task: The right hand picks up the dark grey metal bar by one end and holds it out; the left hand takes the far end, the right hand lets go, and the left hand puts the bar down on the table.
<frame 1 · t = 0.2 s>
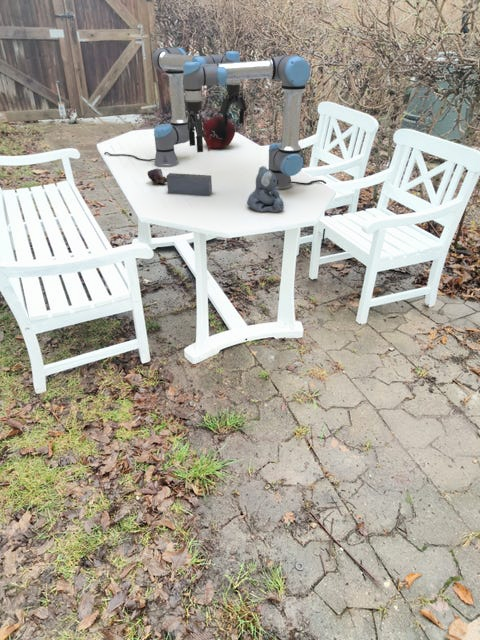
left hand: (233, 125, 259), 28 cm above the table, tool pointing down, fingers open, 13 cm apart
right hand: (196, 148, 219), 27 cm above the table, tool pointing down, fingers open, 13 cm apart
rock: (157, 183, 261), on the table
bar: (190, 193, 247), on the table
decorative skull: (218, 146, 330), on the table
koala plush: (264, 207, 227), on the table
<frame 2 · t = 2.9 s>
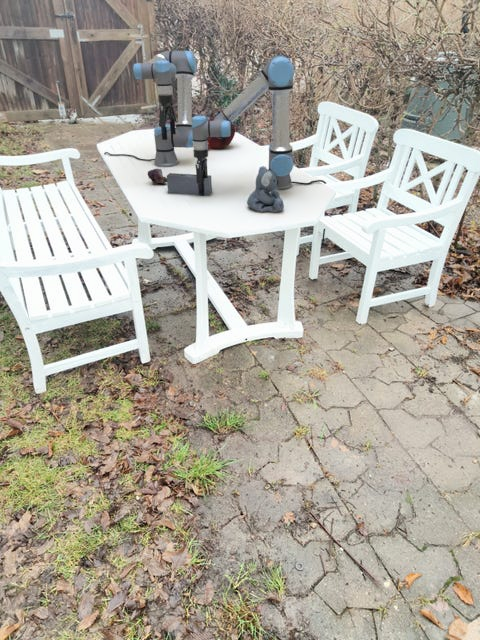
left hand: (169, 136, 249), 25 cm above the table, tool pointing down, fingers open, 13 cm apart
right hand: (203, 193, 245), 0 cm above the table, tool pointing down, fingers closed on bar, 5 cm apart
bar: (190, 193, 247), on the table, touching right hand
everything else where it was.
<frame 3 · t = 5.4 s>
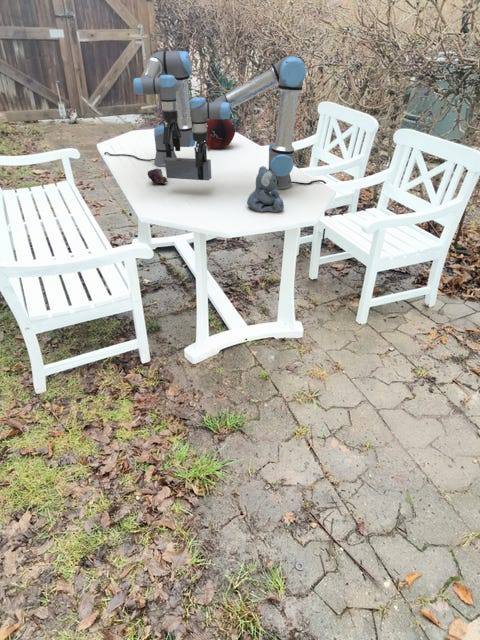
left hand: (173, 154, 237), 20 cm above the table, tool pointing down, fingers open, 13 cm apart
right hand: (202, 177, 240), 9 cm above the table, tool pointing down, fingers closed on bar, 5 cm apart
bar: (189, 177, 242), point 8 cm above the table, touching right hand
everything else where it was.
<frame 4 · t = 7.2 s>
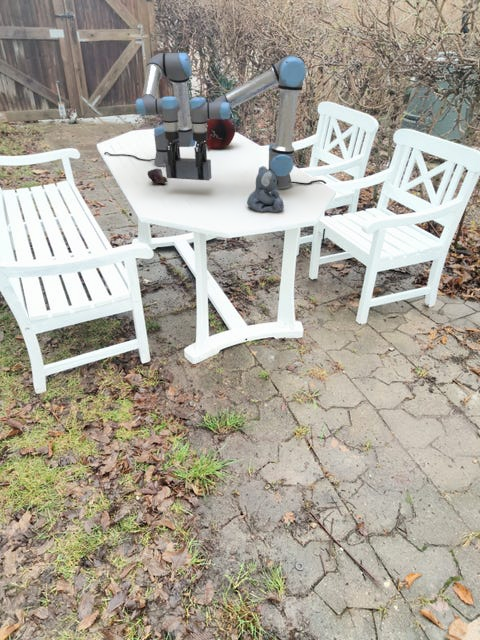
left hand: (175, 176, 243), 9 cm above the table, tool pointing down, fingers closed on bar, 5 cm apart
right hand: (202, 177, 240), 9 cm above the table, tool pointing down, fingers closed on bar, 5 cm apart
bar: (189, 177, 242), point 8 cm above the table, touching left hand, right hand
everything else where it was.
when the right hand's fingers open (9 cm above the table, at t = 7.9 s): bar stays where it is, held by the left hand.
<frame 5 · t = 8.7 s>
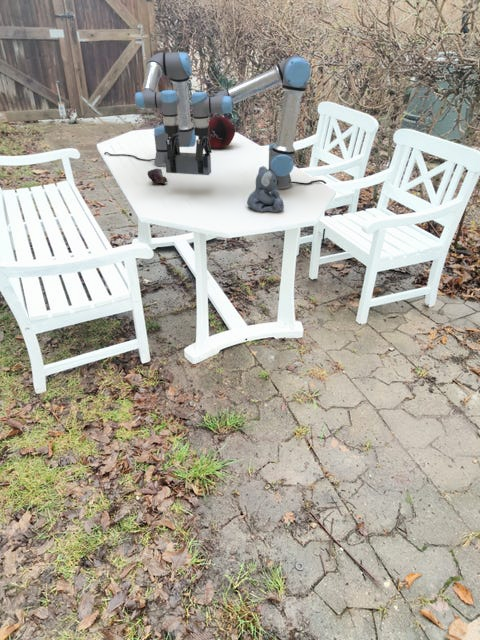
left hand: (175, 170, 242), 12 cm above the table, tool pointing down, fingers closed on bar, 5 cm apart
right hand: (204, 169, 237), 13 cm above the table, tool pointing down, fingers open, 13 cm apart
bar: (188, 172, 241), point 11 cm above the table, touching left hand
everything else where it was.
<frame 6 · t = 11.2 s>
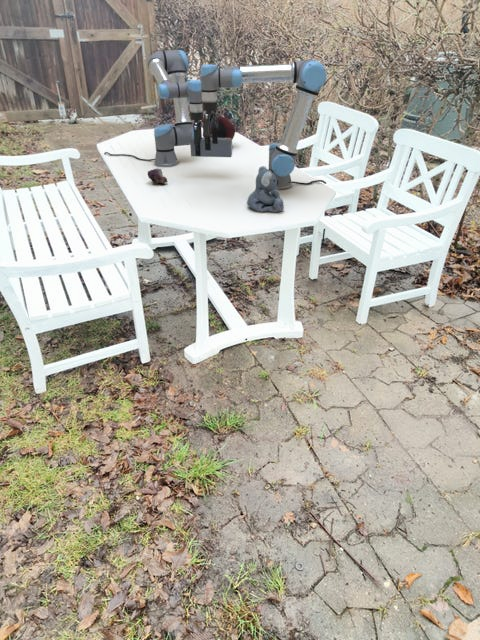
left hand: (198, 154, 264), 13 cm above the table, tool pointing down, fingers closed on bar, 5 cm apart
right hand: (211, 146, 230), 25 cm above the table, tool pointing down, fingers open, 13 cm apart
bar: (211, 155, 263), point 12 cm above the table, touching left hand
everything else where it was.
when the left hand's fingers open (2 cm above the table, at t = 15.6 s): bar drops 2 cm, on the table.
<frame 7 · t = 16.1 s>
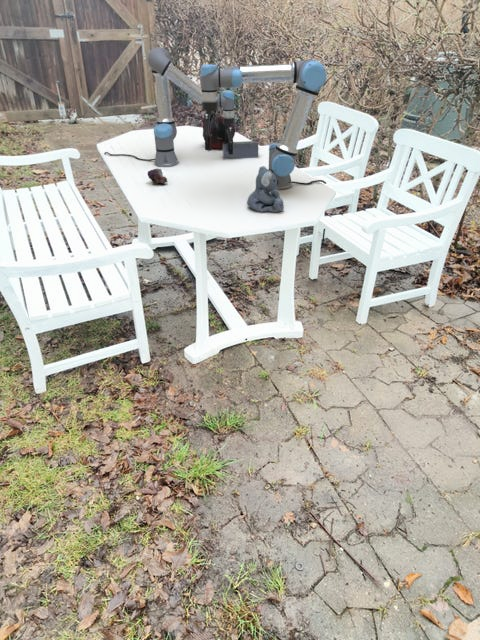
left hand: (229, 151, 303), 4 cm above the table, tool pointing down, fingers open, 12 cm apart
right hand: (211, 146, 230), 25 cm above the table, tool pointing down, fingers open, 13 cm apart
bar: (240, 157, 306), on the table
everything else where it was.
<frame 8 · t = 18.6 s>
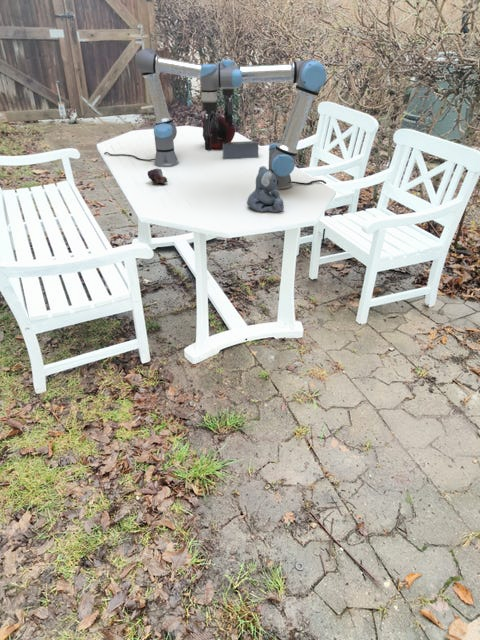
left hand: (228, 124, 293), 21 cm above the table, tool pointing down, fingers open, 13 cm apart
right hand: (211, 146, 230), 25 cm above the table, tool pointing down, fingers open, 13 cm apart
nothing on the table moved.
at the end: bar inside the target area (7.6 cm from its centre), on the table; the left hand is holding nothing; the right hand is holding nothing; bar at rest at the end (0.0 cm/s) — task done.
